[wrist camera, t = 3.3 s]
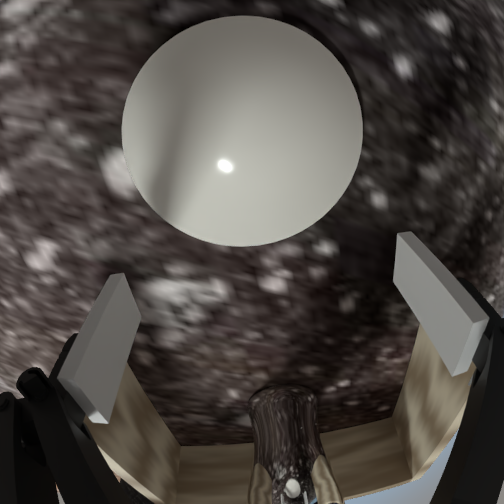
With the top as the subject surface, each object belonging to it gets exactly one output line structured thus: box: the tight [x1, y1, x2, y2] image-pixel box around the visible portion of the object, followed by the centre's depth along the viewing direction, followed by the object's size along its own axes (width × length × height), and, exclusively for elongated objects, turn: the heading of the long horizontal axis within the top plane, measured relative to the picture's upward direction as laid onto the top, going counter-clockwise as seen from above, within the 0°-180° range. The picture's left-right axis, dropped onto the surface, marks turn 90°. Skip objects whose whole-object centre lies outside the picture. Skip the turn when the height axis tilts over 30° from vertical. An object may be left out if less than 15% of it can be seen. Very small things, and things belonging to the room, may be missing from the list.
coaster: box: [122, 16, 363, 246], centre depth 15 cm, size 12×12×1 cm
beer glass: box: [246, 384, 345, 504], centre depth 19 cm, size 7×7×15 cm
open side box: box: [83, 324, 476, 504], centre depth 22 cm, size 19×25×8 cm
